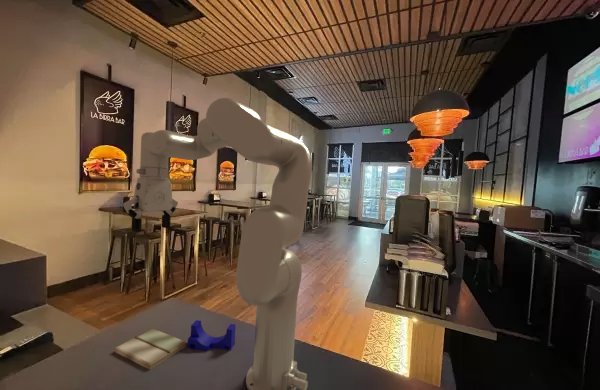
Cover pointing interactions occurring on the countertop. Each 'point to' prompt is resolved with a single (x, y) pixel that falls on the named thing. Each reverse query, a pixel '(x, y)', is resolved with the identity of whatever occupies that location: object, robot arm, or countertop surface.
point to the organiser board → (150, 348)
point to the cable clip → (210, 338)
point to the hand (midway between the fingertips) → (151, 229)
